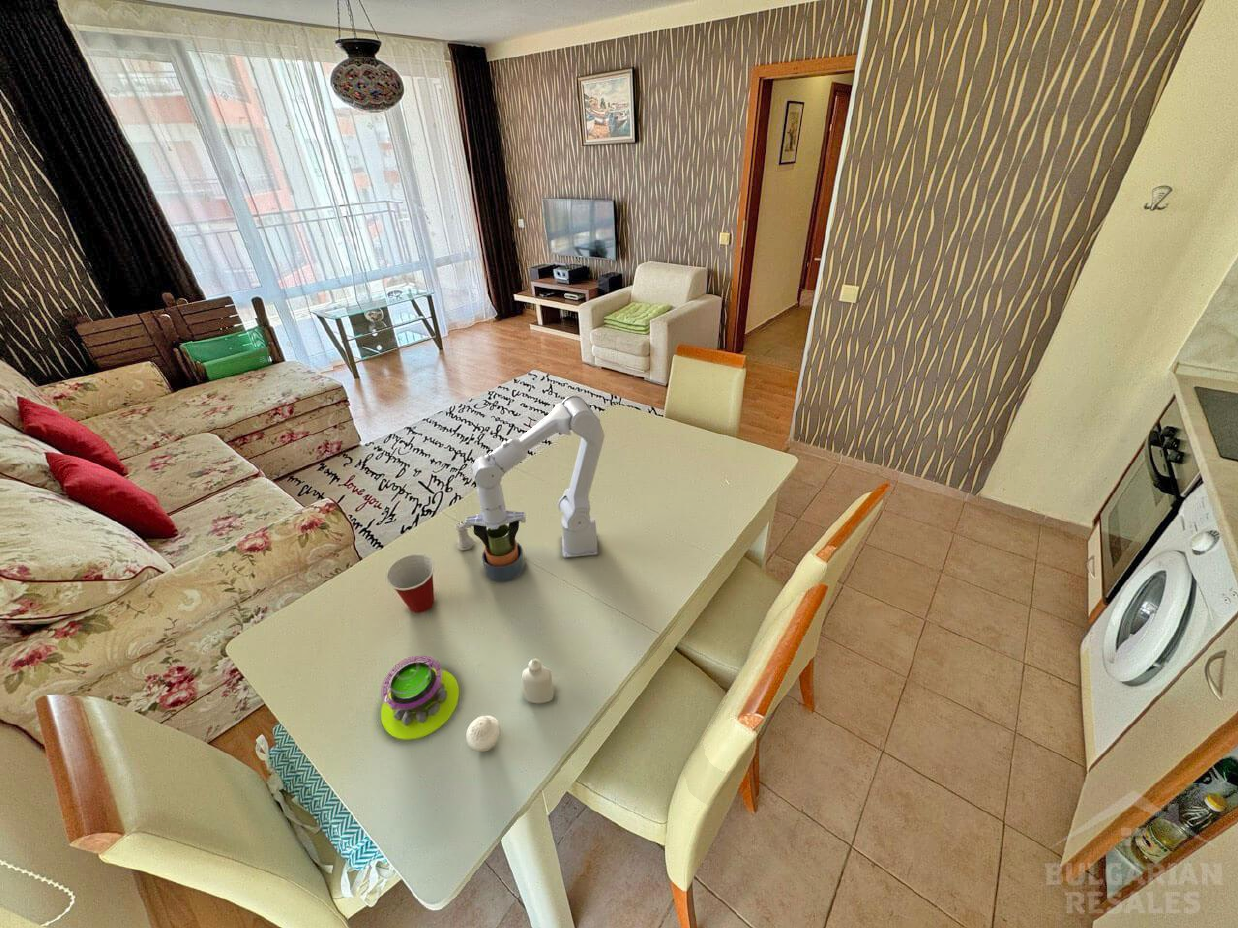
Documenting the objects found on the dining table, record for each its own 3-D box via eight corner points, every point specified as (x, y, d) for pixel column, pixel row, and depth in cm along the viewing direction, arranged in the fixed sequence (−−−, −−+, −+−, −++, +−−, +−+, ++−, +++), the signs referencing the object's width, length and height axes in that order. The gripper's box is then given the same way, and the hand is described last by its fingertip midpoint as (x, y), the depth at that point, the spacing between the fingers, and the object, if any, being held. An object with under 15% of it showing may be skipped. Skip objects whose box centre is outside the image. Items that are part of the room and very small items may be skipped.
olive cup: (513, 539, 129) (510, 522, 126) (512, 555, 124) (509, 537, 121) (491, 542, 128) (487, 524, 125) (489, 557, 124) (485, 539, 120)
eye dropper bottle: (535, 681, 102) (528, 645, 95) (557, 692, 100) (552, 656, 93) (522, 698, 99) (514, 662, 92) (545, 711, 97) (538, 675, 90)
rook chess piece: (469, 552, 135) (464, 530, 130) (454, 550, 136) (449, 528, 131) (476, 541, 138) (471, 519, 134) (462, 539, 139) (456, 517, 135)
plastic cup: (401, 629, 114) (387, 593, 107) (396, 597, 122) (382, 562, 115) (448, 611, 118) (438, 576, 111) (440, 581, 126) (430, 547, 119)
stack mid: (521, 554, 134) (517, 534, 130) (520, 576, 127) (516, 555, 123) (490, 557, 133) (486, 537, 129) (488, 579, 126) (483, 558, 122)
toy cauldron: (428, 656, 107) (416, 624, 101) (474, 692, 100) (464, 659, 94) (365, 711, 97) (347, 678, 91) (411, 755, 90) (396, 723, 84)
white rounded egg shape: (462, 752, 90) (455, 732, 86) (481, 721, 95) (475, 701, 91) (491, 764, 88) (485, 744, 84) (509, 732, 93) (504, 712, 89)
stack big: (525, 551, 135) (523, 538, 132) (524, 579, 126) (521, 565, 123) (487, 555, 134) (484, 541, 131) (483, 583, 125) (479, 569, 122)
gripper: (459, 515, 114) (470, 558, 121) (522, 510, 115) (528, 552, 123) (463, 497, 120) (473, 539, 127) (523, 492, 121) (529, 533, 129)
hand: (500, 544), depth 125 cm, fingers closed on olive cup, 6 cm apart
